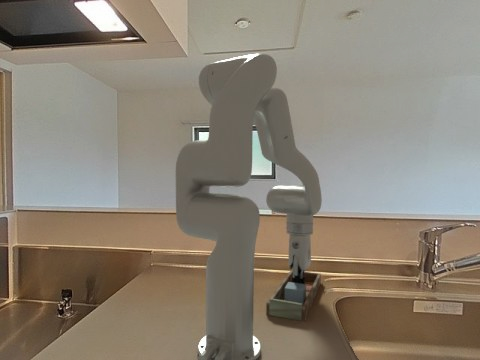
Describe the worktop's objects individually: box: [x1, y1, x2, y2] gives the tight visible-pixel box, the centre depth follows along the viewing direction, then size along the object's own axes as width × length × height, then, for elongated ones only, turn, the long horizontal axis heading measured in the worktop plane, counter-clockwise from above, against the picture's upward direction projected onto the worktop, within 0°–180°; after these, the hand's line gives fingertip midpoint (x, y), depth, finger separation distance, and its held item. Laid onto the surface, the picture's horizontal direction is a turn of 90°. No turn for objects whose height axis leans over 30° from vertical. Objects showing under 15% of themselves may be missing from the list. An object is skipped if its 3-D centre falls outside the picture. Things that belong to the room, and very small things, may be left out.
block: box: [284, 282, 307, 306], centre depth 91 cm, size 5×5×4 cm
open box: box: [265, 269, 322, 322], centre depth 94 cm, size 28×10×4 cm, turn 158°
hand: (298, 290), depth 96 cm, fingers closed
